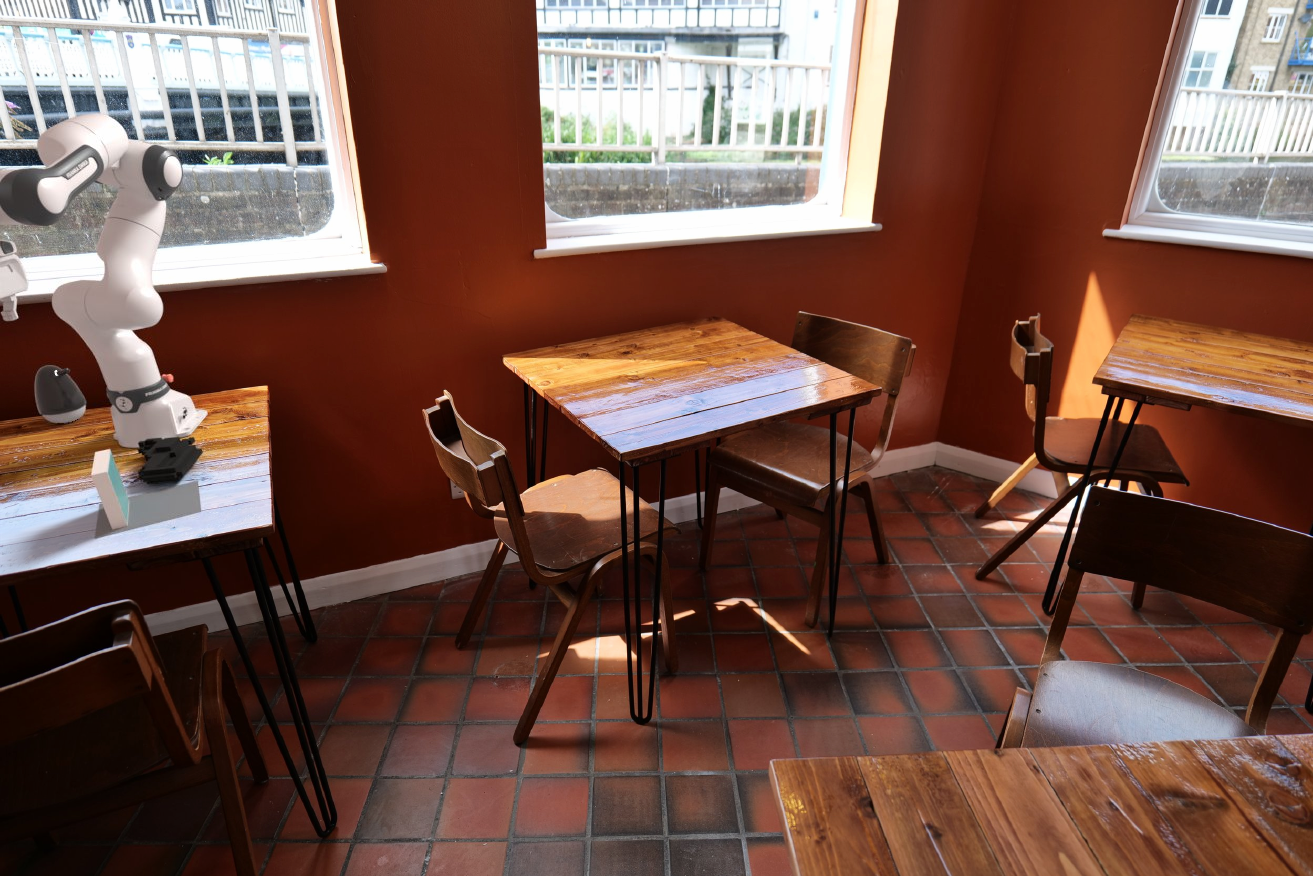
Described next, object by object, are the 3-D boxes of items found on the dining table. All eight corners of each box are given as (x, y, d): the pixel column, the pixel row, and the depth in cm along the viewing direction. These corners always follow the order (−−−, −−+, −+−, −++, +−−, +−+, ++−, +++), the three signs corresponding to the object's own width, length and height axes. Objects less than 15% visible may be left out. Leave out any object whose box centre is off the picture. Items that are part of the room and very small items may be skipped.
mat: (95, 540, 144) (94, 538, 144) (100, 505, 156) (99, 503, 156) (201, 513, 152) (201, 511, 152) (198, 482, 165) (197, 480, 164)
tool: (100, 472, 159) (176, 465, 161) (142, 433, 177) (210, 427, 179) (108, 494, 161) (184, 487, 163) (149, 453, 179) (216, 447, 181)
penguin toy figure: (73, 427, 195) (52, 372, 188) (34, 428, 195) (11, 372, 189) (100, 412, 204) (81, 358, 198) (63, 412, 204) (42, 359, 198)
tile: (112, 529, 147) (91, 475, 141) (115, 504, 156) (95, 452, 151) (127, 525, 148) (107, 471, 143) (129, 500, 157) (110, 448, 152)
